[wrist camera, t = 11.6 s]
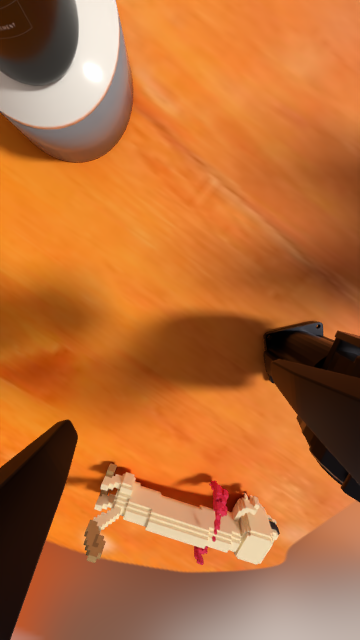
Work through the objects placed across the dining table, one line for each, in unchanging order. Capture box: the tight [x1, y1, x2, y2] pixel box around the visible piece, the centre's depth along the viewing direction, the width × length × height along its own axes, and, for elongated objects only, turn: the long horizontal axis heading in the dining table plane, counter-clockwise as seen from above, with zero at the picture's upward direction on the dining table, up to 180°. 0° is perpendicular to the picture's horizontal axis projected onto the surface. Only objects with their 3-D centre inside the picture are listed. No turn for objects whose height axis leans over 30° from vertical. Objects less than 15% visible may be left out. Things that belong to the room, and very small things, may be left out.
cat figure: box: [84, 463, 279, 565], centre depth 22 cm, size 10×9×25 cm
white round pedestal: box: [0, 0, 133, 162], centre depth 13 cm, size 11×11×4 cm
